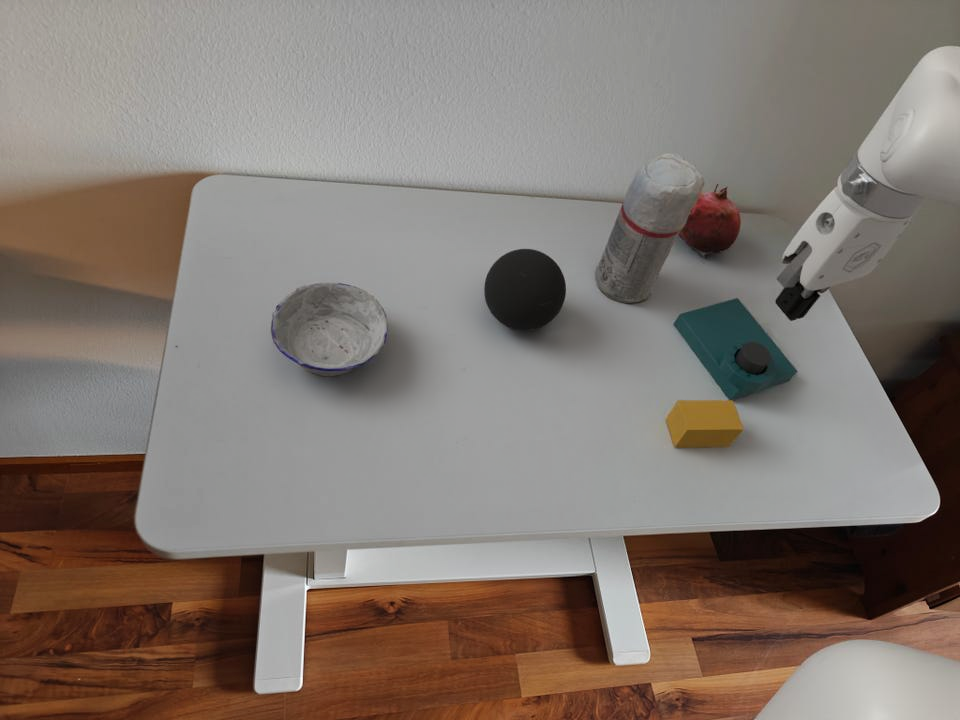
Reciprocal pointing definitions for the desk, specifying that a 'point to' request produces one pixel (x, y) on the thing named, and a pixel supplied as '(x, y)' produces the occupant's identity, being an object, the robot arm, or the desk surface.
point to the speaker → (525, 289)
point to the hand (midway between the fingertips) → (788, 310)
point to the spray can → (648, 227)
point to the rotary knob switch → (732, 347)
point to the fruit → (712, 223)
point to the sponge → (704, 423)
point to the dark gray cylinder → (753, 358)
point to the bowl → (329, 327)
